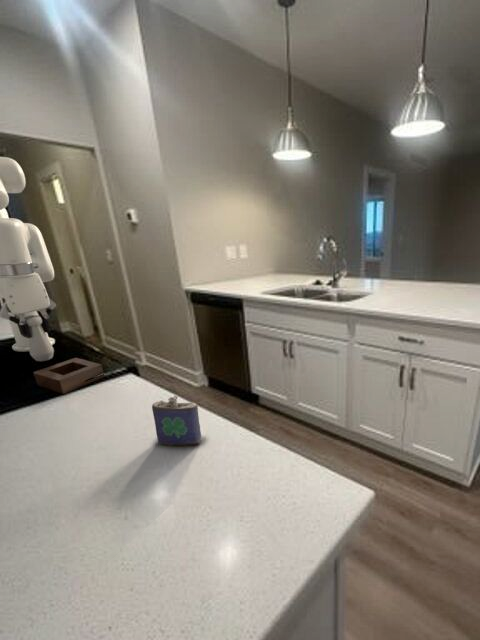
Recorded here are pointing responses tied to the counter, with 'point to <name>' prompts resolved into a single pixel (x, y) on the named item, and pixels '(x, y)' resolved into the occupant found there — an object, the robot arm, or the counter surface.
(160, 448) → the counter surface
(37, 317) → the salt shaker
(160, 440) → the flask
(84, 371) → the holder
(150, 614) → the counter surface
